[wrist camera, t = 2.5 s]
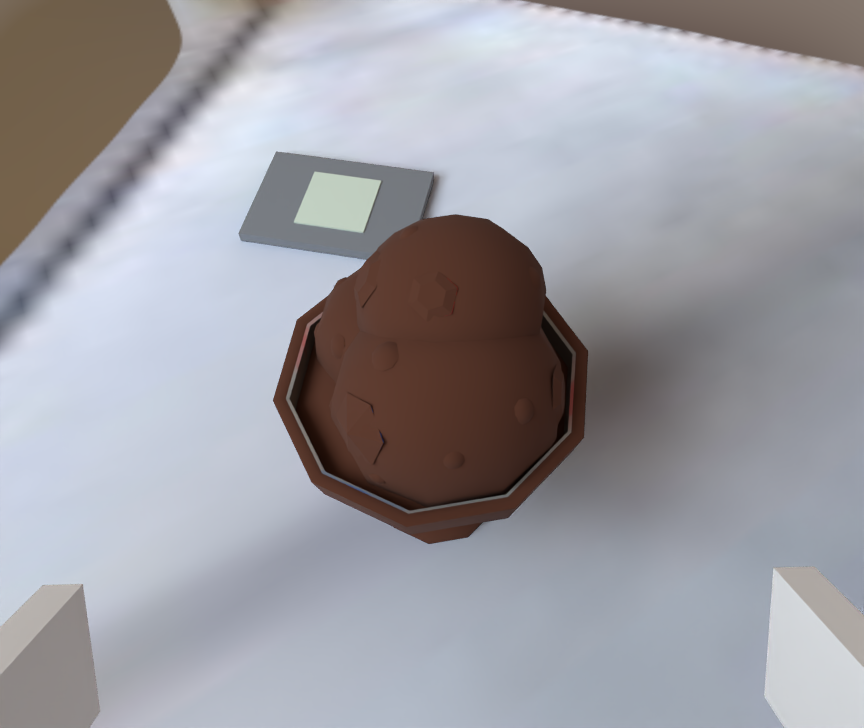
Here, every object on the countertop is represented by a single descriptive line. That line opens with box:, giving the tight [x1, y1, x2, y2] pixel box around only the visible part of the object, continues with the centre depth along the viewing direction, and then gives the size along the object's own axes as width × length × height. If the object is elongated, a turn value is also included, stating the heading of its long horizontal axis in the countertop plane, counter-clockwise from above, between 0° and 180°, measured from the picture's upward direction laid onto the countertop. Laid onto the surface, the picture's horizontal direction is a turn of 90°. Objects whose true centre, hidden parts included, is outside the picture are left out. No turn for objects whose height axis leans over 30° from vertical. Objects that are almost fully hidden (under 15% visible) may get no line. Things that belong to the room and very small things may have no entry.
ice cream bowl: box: [273, 215, 588, 544], centre depth 29 cm, size 11×11×15 cm
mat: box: [239, 152, 434, 259], centre depth 44 cm, size 10×7×1 cm
